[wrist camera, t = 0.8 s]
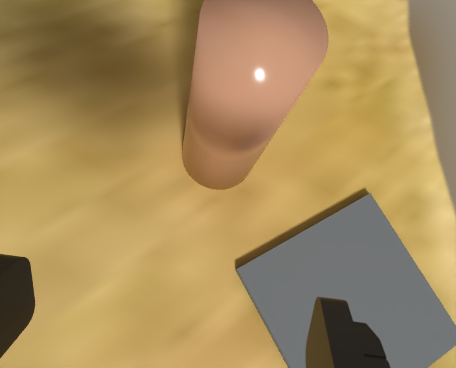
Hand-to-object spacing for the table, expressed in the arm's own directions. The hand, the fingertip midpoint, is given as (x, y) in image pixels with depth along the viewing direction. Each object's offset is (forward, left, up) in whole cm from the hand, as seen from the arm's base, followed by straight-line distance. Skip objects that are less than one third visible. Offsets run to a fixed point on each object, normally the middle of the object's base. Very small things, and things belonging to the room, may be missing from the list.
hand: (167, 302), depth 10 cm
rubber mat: (+6, +11, -15) cm, 20 cm away
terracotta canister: (-8, +8, -15) cm, 19 cm away
